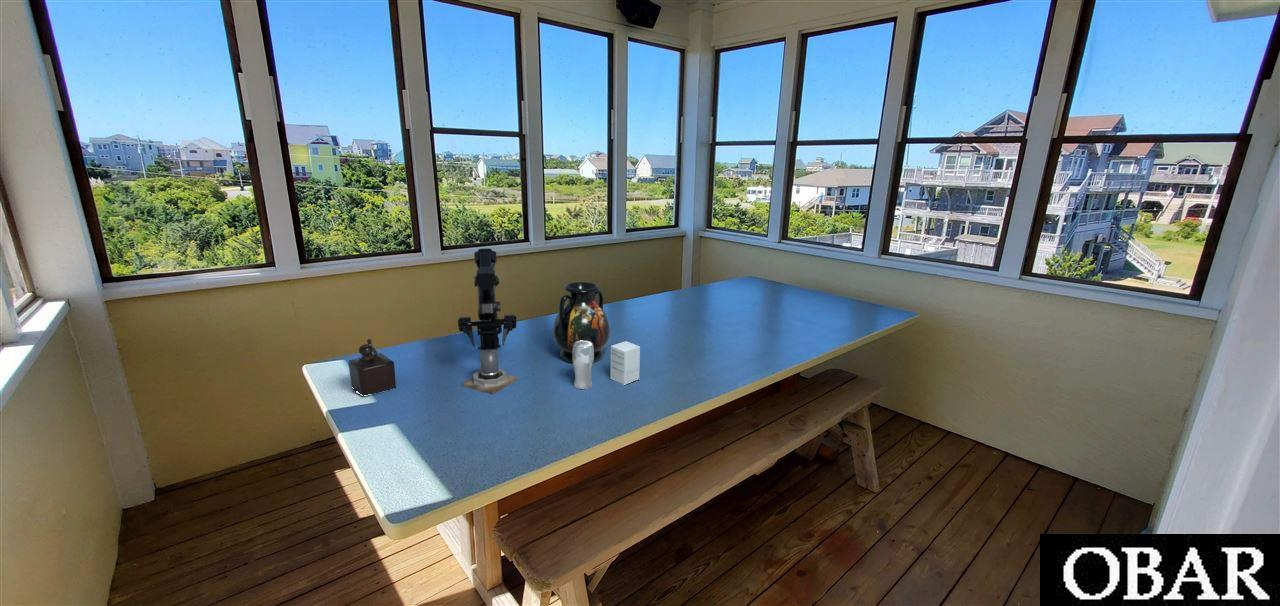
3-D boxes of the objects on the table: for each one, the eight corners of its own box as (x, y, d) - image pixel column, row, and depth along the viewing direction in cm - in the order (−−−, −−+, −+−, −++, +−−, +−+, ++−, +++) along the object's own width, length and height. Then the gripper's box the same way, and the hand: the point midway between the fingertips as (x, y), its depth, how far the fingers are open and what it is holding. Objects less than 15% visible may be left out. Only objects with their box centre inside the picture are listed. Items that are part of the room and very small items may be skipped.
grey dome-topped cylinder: (478, 379, 171) (476, 351, 168) (494, 375, 174) (493, 347, 172) (486, 385, 167) (484, 356, 164) (502, 380, 170) (501, 352, 167)
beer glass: (589, 391, 167) (590, 348, 163) (569, 389, 168) (569, 346, 164) (596, 382, 173) (596, 341, 169) (576, 380, 175) (576, 339, 171)
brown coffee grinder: (348, 388, 163) (341, 334, 158) (384, 378, 171) (378, 327, 166) (367, 404, 153) (360, 348, 148) (404, 393, 161) (398, 339, 156)
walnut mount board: (462, 385, 168) (462, 377, 167) (488, 372, 179) (488, 364, 178) (492, 394, 163) (492, 385, 162) (517, 379, 174) (517, 371, 173)
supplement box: (625, 374, 181) (626, 340, 178) (639, 380, 176) (641, 346, 173) (609, 379, 176) (610, 345, 173) (624, 386, 171) (625, 351, 168)
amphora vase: (574, 372, 181) (574, 296, 173) (542, 354, 196) (541, 283, 189) (621, 359, 195) (623, 287, 187) (588, 343, 210) (588, 276, 203)
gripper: (456, 294, 167) (456, 337, 160) (515, 291, 172) (518, 333, 165) (459, 310, 176) (459, 351, 169) (514, 307, 181) (517, 347, 174)
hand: (488, 345), depth 169 cm, fingers open, 9 cm apart
